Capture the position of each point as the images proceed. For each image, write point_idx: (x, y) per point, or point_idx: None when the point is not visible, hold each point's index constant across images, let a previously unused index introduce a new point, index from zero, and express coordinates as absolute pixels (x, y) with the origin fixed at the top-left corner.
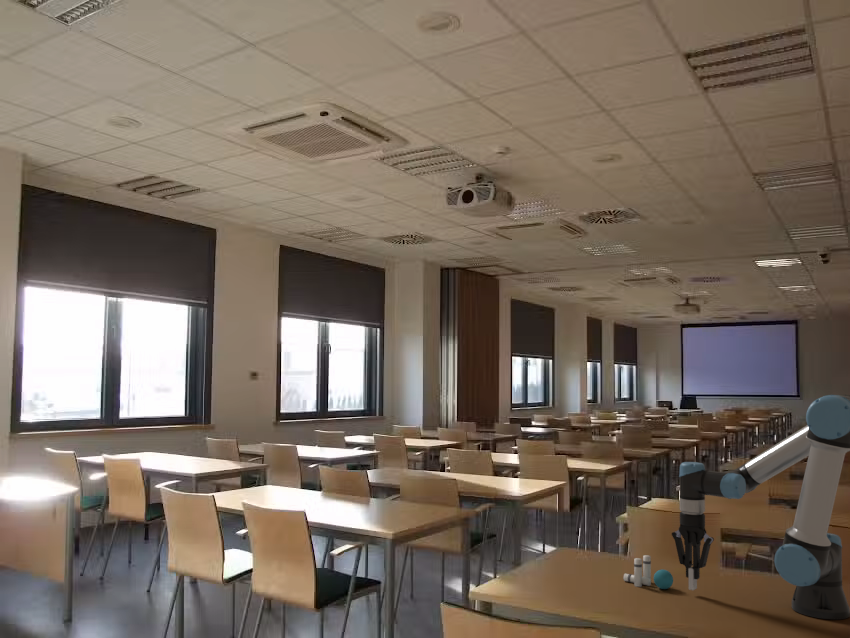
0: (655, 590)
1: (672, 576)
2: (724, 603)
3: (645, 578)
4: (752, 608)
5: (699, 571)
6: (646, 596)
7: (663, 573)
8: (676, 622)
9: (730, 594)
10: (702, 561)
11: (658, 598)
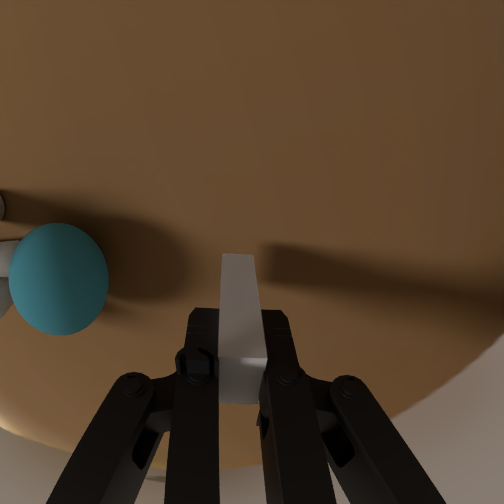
0: None
1: (79, 268)
2: (387, 268)
3: (2, 275)
4: (467, 257)
5: (295, 351)
6: (111, 366)
7: (61, 333)
8: None
9: (391, 92)
10: (351, 457)
11: (150, 366)
